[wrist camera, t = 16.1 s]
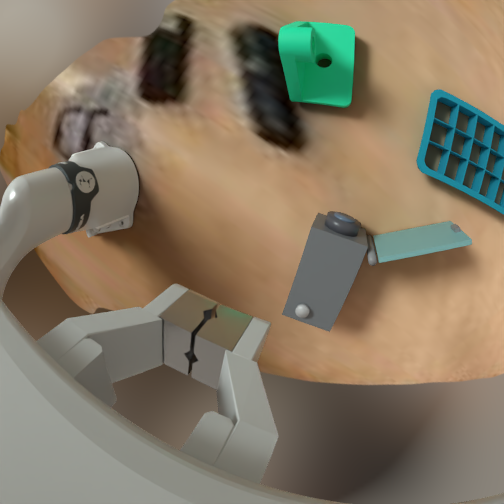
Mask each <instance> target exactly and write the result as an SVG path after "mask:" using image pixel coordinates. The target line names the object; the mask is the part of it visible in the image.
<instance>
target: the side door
mask: <svg viewBox="0 0 504 504" xmlns="http://www.w3.org/2000/svg"><path fill="white" fill-rule="evenodd" d="M366 237H367V243H368V249H367V255H368V262H369V264H370V265H372V266H373V265H375V264H376V263H377V259H376V254H375V249H374V244H373V240H372V236H371V235H367V236H366ZM373 238H374V243H375V247H376V251H377V256H378V261H379V263H381V262H387V261H392V260H397V259H403V258H408V257H413V256H418V255H423V254H428V253H433V252H438V251H443V250H448V249H453V248H458V247H462V246H467V245H471V244H472V239H471V238H469V237H468V236H467V235H466V234H465V233H464V232H463V231H462V230H460V227H459V226H458V225H456V224H453V223H452V222H451V221H447V222H442V223H437V224H432V225H427V226H422V227H417V228H411V229H406V230H401V231H396V232H390V233H385V234H380V235H375V236H373Z"/></svg>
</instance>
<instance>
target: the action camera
mask: <svg viewBox="0 0 504 504" xmlns="http://www.w3.org/2000/svg"><path fill="white" fill-rule="evenodd" d="M360 226H361V223H360V222H359V221H357V220H356V219H354V218H353V217H351V216H349V215H347V214H344V213H340V212H333V211H331V212H328V214H327V216H326V215H323V214H320V213H318V214H317V216H316V218H315V221H314V223H313V225H312V227H311V230H310V233H309V236H308V239H307V243H306V246H305V249H304V252H303V255H302V258H301V261H300V264H299V267H298V270H297V273H296V276H295V279H294V282H293V285H292V288H291V291H290V293H289V296H288V299H287V302H286V305H285V308H284V310H283V313H282V315H285V316H288V317H290V318H293V319H296V320H298V321H301V322H304V323H307V324H309V325H312V326H315V327H318V328H321V329H324V330H326V331H329V332H330V330H331V328H332V326H333V324H334V322H335V320H336V318H337V316H338V314H339V312H340V310H341V308H342V306H343V304H344V301H345V299H346V297H347V295H348V293H349V291H350V288H351V286H352V284H353V282H354V279H355V277H356V275H357V273H358V270H359V268H360V266H361V263H362V261H363V258H364V256H365V253H366V251H367V249H368V243H367V237H366V231H365V229H363V228H360Z"/></svg>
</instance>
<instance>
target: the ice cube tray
mask: <svg viewBox="0 0 504 504" xmlns="http://www.w3.org/2000/svg"><path fill="white" fill-rule="evenodd" d="M437 102H441V103H443V104H445V105H447V106H449V107H451V113H450V118H449V124H447V123H445V122H442V121H440V120H438V119H436V118H434V116H435V110H436V105H437ZM458 111H459V112H461V113H463V114H465V115H466V116H468V117H469V120H468V126H467V131H466V133H464V132H462V131H460V130H458V129H457V128H456V123H457V117H458ZM477 122H479V123H480V124H482V125H484V126H485V131H484V136H483V142H480V141H478V140H477V139H475V138H474V135H475V129H476V124H477ZM433 123H436V124H438V125H440V126H442V127H444V128H446V129H447V133H446V138H445V142H444V147H443V146H441V145H439V144H437V143H435V142H432V141H430V140H429V139H430V135H431V130H432V125H433ZM494 132H495V133H497V134H498V135H500V140H499V145H498V150H497V152H496V151H495V150H493V149H492V148H491V143H492V138H493V133H494ZM454 133H456V134H458V135H460V136H462V137H464V138H465V141H464V145H463V150H462V154H461V155H459V154H457V153H455V152H453V151H451V146H452V142H453V138H454ZM428 143H429V144H431V145H433V146H435V147H438V148H440V149H442V150H443V151H442V155H441V159H440V163H439V166H438V170H437V172H436V171H434V170H432V169H429V168H428V167H427V166H426V164H425V161H424V159H425V155H426V151H427V147H428ZM473 143H475V144H476V145H478V146H480V147H481V151H480V156H479V160H478V164H476V163H474V162H472V161H470V160H469V158H470V153H471V149H472V144H473ZM489 153H491V154H493V155H494V156H496V160H495V164H494V168H493V172H492V173H491V172H489V171H488V170H486V166H487V162H488V158H489ZM450 154H452V155H454V156H456V157H458V158H460V162H459V166H458V170H457V173H456V177H455V180H453V179H451V178H449V177H447V176H445V175H444V173H445V170H446V166H447V162H448V159H449V155H450ZM468 163H469V164H471V165H473V166H475V167H476V172H475V175H474V179H473V183H472V186H471V189H470V188H468V187H467V186H465V185H463V180H464V177H465V173H466V169H467V166H468ZM417 165H418V168H419V169H420V171H421V172H422V173H425V174H427V175H429V176H431V177H434V178H436V179H438V180H440V181H442V182H444V183H447V184H449V185H451V186H453V187H455V188H457V189H459V190H461V191H463V192H465V193H467V194H468V195H470V196H472V197H474V198H476V199H478V200H480V201H481V202H483V203H485V204H487V205H488V206H490V207H492V208H494V209H495V210H497V211H499V212H500V213H502V214H504V190H503V194H502V197H501V200H500V204H499V205H498V204H497V203H495V202H494V201H495V198H496V194H497V191H498V187H499V184H500V182H501V183H503V184H504V180H502V179H501V176H502V172H503V168H504V125H502V124H501V123H499V122H498V121H496V120H495V119H493V118H491V117H490V116H488V115H487V114H485V113H483V112H482V111H480V110H478V109H477V108H475V107H473V106H471V105H470V104H468V103H466V102H464V101H462V100H461V99H459V98H457V97H455V96H453V95H451V94H449V93H447V92H445V91H443V90H435V91H434V92H433V93H432V94H431V97H430V103H429V109H428V114H427V119H426V123H425V128H424V133H423V137H422V141H421V145H420V149H419V153H418V157H417ZM485 173H487V174H488V175H490V176H491V180H490V183H489V187H488V190H487V194H486V197H485V196H483V195H481V194H480V193H479V192H480V188H481V185H482V181H483V178H484V174H485Z"/></svg>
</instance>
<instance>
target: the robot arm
mask: <svg viewBox="0 0 504 504" xmlns="http://www.w3.org/2000/svg"><path fill="white" fill-rule="evenodd" d="M138 194H139V181H138V175H137V171H136V168H135V165H134V163H133V161H132V160H131V158H130V157H129V155H128V154H127V153H126V152H124V151H123V150H121V149H119V148H115V147H110V146H108V145H107V144H106V143H105V142H103V141H101V142H98V143H97V144H96V145H95V146H94V148H93V149H90V150H86V151H82V152H78V153H75V154H73V155H72V157H71V158H70V159H69V161H67V162H60V163H57V164H55V165H52V166H50V167H49V168H48V169H44V170H40V171H37V172H33V173H29V174H25V175H22V176H19V177H17V178H16V179H14V180H13V181H12V182H11V183H10V185H9V186H8V187H7V189H6V191H5V193H4V196H3V199H2V203H1V207H0V504H347V503H339V502H333V501H326V500H321V499H316V498H311V497H306V496H301V495H297V494H293V493H289V492H286V491H282V490H278V489H275V488H271V487H268V486H264V485H261V484H260V482H261V480H262V477H263V475H264V472H265V470H266V468H267V465H268V463H269V460H270V458H271V455H272V452H273V450H274V447H275V445H276V442H277V439H278V437H279V435H278V432H277V429H276V426H275V422H274V419H273V415H272V412H271V409H270V406H269V402H268V398H267V395H266V392H265V388H264V385H263V381H262V377H261V374H260V370H259V367H258V363H257V362H258V359H259V357H260V354H261V352H262V349H263V346H264V343H265V341H266V338H267V335H268V332H269V329H270V326H271V322H268V321H265V320H263V319H260V318H257V317H253V316H251V315H248V314H246V313H243V312H241V311H238V310H236V309H233V308H231V307H228V306H226V305H220V303H219V302H217V301H214V300H212V299H210V298H208V297H205V296H203V295H201V294H199V293H197V292H195V291H193V290H190V289H188V288H186V287H183V286H181V285H179V284H173V285H171V286H170V287H169V288H168V289H166V290H165V291H164V292H163V293H161V294H160V295H159V296H158V297H156V298H155V299H154V300H153V301H152V302H150V303H149V304H148V305H147V306H146V307H144V308H143V309H142V308H140V307H134V308H129V309H123V310H117V311H111V312H105V313H99V314H93V315H87V316H80V317H74V318H68V319H66V320H65V321H63V322H62V323H61V324H59V325H58V326H57V327H55V328H54V329H52V330H51V331H50V332H49V333H47V334H46V335H44V336H43V337H42V338H40V339H39V340H38V341H35V340H34V339H33V338H32V337H31V335H30V334H29V333H28V332H27V331H26V330H25V329H24V327H23V326H22V325H21V324H20V323H19V322H18V320H17V319H16V318H15V317H14V315H13V314H12V313H11V312H10V311H9V309H8V308H7V307H6V305H5V304H4V303H3V301H2V296H3V291H4V288H5V285H6V283H7V280H8V278H9V276H10V275H11V273H12V271H13V269H14V268H15V267H16V265H17V264H18V263H19V261H20V260H21V259H22V258H23V257H24V256H25V255H26V254H27V253H28V252H29V251H31V250H32V249H33V248H35V247H37V246H38V245H40V244H42V243H44V242H46V241H47V240H49V239H51V238H53V237H55V236H58V235H60V234H68V233H73V232H75V231H76V232H78V231H83V230H86V232H87V236H88V237H91V236H94V235H96V234H98V233H103V232H109V231H114V230H120V229H126V228H130V227H131V226H132V225H133V211H134V208H135V205H136V203H137V199H138ZM163 363H164V364H166V365H168V366H170V367H172V368H174V369H176V370H178V371H180V372H182V373H184V374H186V375H188V374H189V373H190V371H191V370H192V378H194V379H196V380H198V381H200V382H202V383H204V384H206V385H208V386H210V387H212V388H214V389H216V390H217V401H218V411H219V414H218V413H216V412H213V411H211V412H208V413H205V414H204V416H203V417H202V418H201V420H200V421H199V423H198V424H197V426H196V427H195V429H194V431H193V432H192V433H191V435H190V437H189V438H188V440H187V441H186V443H185V444H184V445H183V447H182V448H181V450H177V449H176V448H174V447H172V446H170V445H168V444H167V443H165V442H163V441H161V440H159V439H158V438H156V437H154V436H153V435H151V434H149V433H148V432H146V431H144V430H143V429H141V428H140V427H138V426H137V425H135V424H133V423H132V422H130V421H129V420H128V419H126V418H124V417H123V416H122V415H120V414H119V413H117V412H116V411H115V410H113V409H112V408H111V407H112V405H114V403H115V402H116V395H115V392H114V389H113V386H112V383H113V382H116V381H119V380H122V379H125V378H127V377H130V376H133V375H136V374H139V373H141V372H144V371H147V370H149V369H152V368H155V367H157V366H160V365H162V364H163ZM452 504H504V493H501V494H498V495H494V496H490V497H485V498H481V499H476V500H471V501H466V502H459V503H452Z"/></svg>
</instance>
